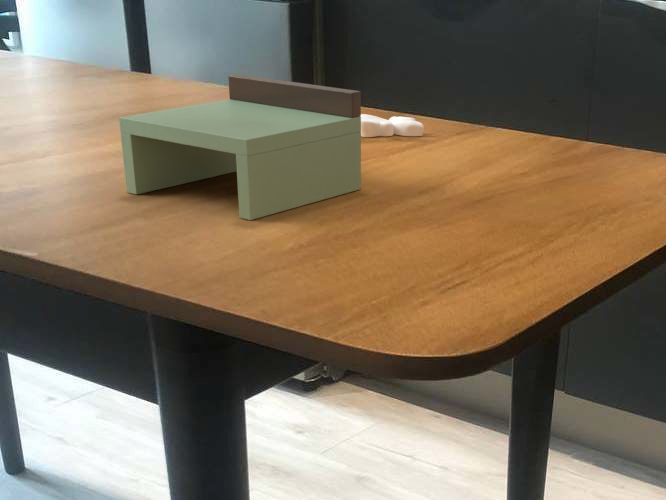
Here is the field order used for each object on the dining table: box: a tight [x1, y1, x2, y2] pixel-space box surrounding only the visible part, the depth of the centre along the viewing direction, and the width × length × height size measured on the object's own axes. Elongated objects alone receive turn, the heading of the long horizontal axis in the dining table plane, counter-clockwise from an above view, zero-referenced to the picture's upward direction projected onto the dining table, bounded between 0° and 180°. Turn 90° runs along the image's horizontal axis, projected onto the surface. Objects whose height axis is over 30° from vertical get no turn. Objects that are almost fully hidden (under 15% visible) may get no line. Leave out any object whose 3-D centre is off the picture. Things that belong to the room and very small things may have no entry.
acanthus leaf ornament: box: [360, 113, 425, 138], centre depth 117 cm, size 8×7×2 cm
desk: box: [118, 73, 362, 221], centre depth 90 cm, size 14×14×8 cm
